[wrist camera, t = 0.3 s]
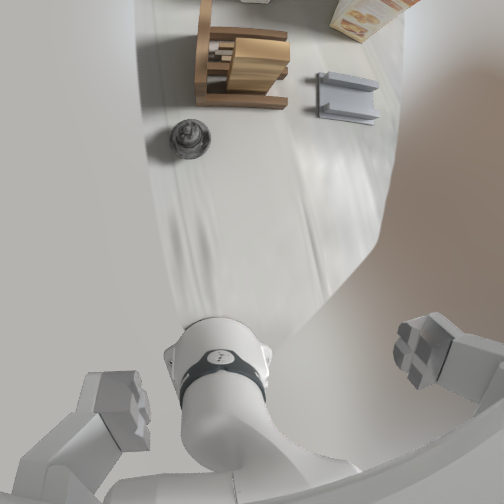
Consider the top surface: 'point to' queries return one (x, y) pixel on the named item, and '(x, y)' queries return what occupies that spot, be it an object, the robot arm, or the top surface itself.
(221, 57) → the offcut boards
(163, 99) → the top surface
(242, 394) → the robot arm
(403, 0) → the coffeecake box
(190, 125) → the salt shaker
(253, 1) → the jar
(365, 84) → the slate holder
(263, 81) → the wooden block
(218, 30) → the walnut rack
